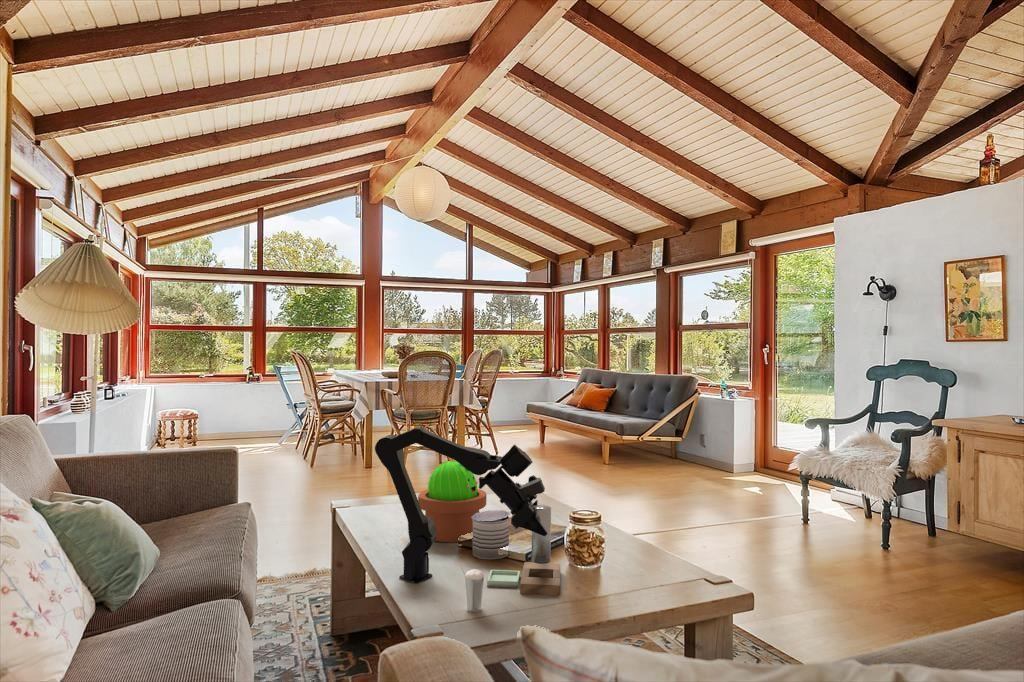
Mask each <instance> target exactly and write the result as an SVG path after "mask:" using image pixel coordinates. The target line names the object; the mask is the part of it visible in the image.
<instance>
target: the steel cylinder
mask: <svg viewBox="0 0 1024 682" xmlns="http://www.w3.org/2000/svg"><path fill="white" fill-rule="evenodd" d="M535 508H536V517H537V519H538V520H539V522H540V523H541V524H542V526H543V527H544V529H545V530H546V532H547V535H546V536H542V535H540V534H537V533H535V532H533V531H531V562H534V563H537V564H546V563H551V550H552V549H551V547H552V546H551V544H552V542H551V541H552V537H551V536H552V534H551V533H552V531H551V530H552V529H551V528H552V507H551V506H549V505H544V504H538V505H536V506H533V509H535Z"/></svg>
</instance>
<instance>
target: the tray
mask: <svg viewBox="0 0 1024 682" xmlns="http://www.w3.org/2000/svg"><path fill="white" fill-rule="evenodd" d="M520 580H521V570H511V569H509V570H507V569H490V571H489V573H488V577H487V580H486V587H494V588H495V587H496V588H499V587H500V588H519V585H520Z"/></svg>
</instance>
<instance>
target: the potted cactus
mask: <svg viewBox="0 0 1024 682" xmlns="http://www.w3.org/2000/svg"><path fill="white" fill-rule="evenodd" d="M430 472H431V471H430ZM427 484H428V486H427V489H426V490H423V491H421V492H420V493H418V496H417V499H418V502H419V504H420V507H421V510H422V511H425V512H424V513H425V514H424V515H425V516H426V517H427V518H430V517H431V516H432V518H433V521H434V525H435V527H436V528H437V529H438V530H437V531H436V539H435V541H434V542H440V543H452V544H453V543H454V544H455V543H461V542H460V541H459V540H458V538H459V536H461V535H465V534H467V533H471V532H473V518H471V517H472V516H473V515H474V514H476V513H479V512H480V510H481V509H482V510H483V509H484V508H485V507H486V506H487V492H486V491H485V490H483V489H479V488H478V484H479V481H477V479H476V476H475V474H473V473H472V472H470V471H469V470H467V469H466V468H464V467H463V466H462V465H461V464H460V463H458V462H457V461H455V460H454V459H453V460H449V461H448V460H446V461H444V462H441V464H439V465H437V466H436V467H435V468H433V470H432V472H431V474H430V476H429V480H428V483H427Z"/></svg>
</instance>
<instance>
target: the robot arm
mask: <svg viewBox="0 0 1024 682" xmlns="http://www.w3.org/2000/svg"><path fill="white" fill-rule="evenodd" d="M414 444H417V445H420V446H422V447H425V448H426V449H429V450H431V451H433V452H436V453H438V454H440V455H442V456H445V457H448V458H449V459H450V460H453V461H454V460H455V461H457V462H458V463H460V464H461V465H462V466H463V467H464V468H466V469H467V470H469V471H470V472H472V473H473V475H474V476H479V478H478V484H479V485H478V489H480V490H482V489H483V488H484V487H485V486H487V487H488V488H489V489H490V491H492V492H493V493H494V495H496V497H498V498H499V502H500V503H501V504H502V505H503V504H504V505H505V506H507V508H508V509H509V510H510V512H509V513H510V514H511V518H510V524H511V525H512V526H513V527H514V529H516V530H517V529H519V528H523V529H524V530H527V531H530V532H532V531H533V532H535V533H537V534H540V535H542V536H546V535H547V532H546V530H545V529H544V527H543V526H542V524H541V523H540V522H539V520H538V519H537V517H536V508H535V509H533V506H536V505H539V504H538V502H539V501H538V499H537V497H538V494H543V493H544V492H545V489H546V488H545V485H544V484H543V480H542V479H541V477H537V476H536V475H530V476H528V482H526V483H525V484H522V485H521V483H519V482H514V480H513V479H512V478H513V477H517V478H518V477H519V476H520V475H522V474H523V473H524V472H525V471H526V470H527V469H528V468H529V467H530V466H531V465H532V464H533V459H532V458H531V457H530V455H528V453H527V452H525V451H524V450H523V449H521V448H520V447H519V446H517V444H513V445H512V446H511V447H510V449H509V450H508V451H507V452H506V453H505V454H504V455H503V456H499V455H494V454H491V453H489V452H488V451H487V450H484V449H480V448H476V447H470V446H464V445H461V444H459V443H456V442H455V441H452V440H450V439H448V438H445V437H443V436H440V435H438V434H436V433H433V432H431V431H429V430H426V429H425V428H424V427H422V426H415V427H413V428H412V429H410V430H408V431H404V432H402V433H399V434H397V435H396V434H386V435H385V436H383V437H381V438H380V439H378V440H377V442H376V444H375V446H374V452H375V455H377V457H378V459H379V460H380V462H381V464H382V466H384V467H385V468H386V470H387V471H388V472H389V475H390V477H391V480H392V482H393V486H394V488H395V490H396V493H397V496H398V499H399V502H400V504H401V507H402V509H403V512H404V513H405V517H406V520H407V526H408V527H407V528H408V532H407V533H408V537H409V541H408V543H407V545H405V547H404V548H403V549H402V551H401V554H402V557H403V574H401V575H399V576H398V578H399V579H401V580H405V581H407V582H410V583H414V584H418V583H421V582H423V581H425V580H427V579H428V580H429V578H432V577H433V574H432V573H429V571H430V570H429V569H430V557H429V552H428V551H429V550H430V549H431V548H432V546H433V544H434V543H435V542H436V541H435V539H436V531H437V530H438V529H437V528H436V527H435V525H434V521H433V518H432V516H431V517H430V518H427V517H426V516H425V514H424V512H423V510H422V509H421V507H420V504H419V502H418V496H417V494H416V492H415V488H414V486H413V483H412V481H411V477H410V476H409V473H408V471H407V468H406V463H405V451H404V449H405V448H408V447H410V446H412V445H414ZM500 465H501V466H500ZM494 470H495V471H494ZM488 471H489V472H488ZM487 472H488V473H487ZM482 475H484V476H482ZM533 500H535V501H534V502H533Z"/></svg>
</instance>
